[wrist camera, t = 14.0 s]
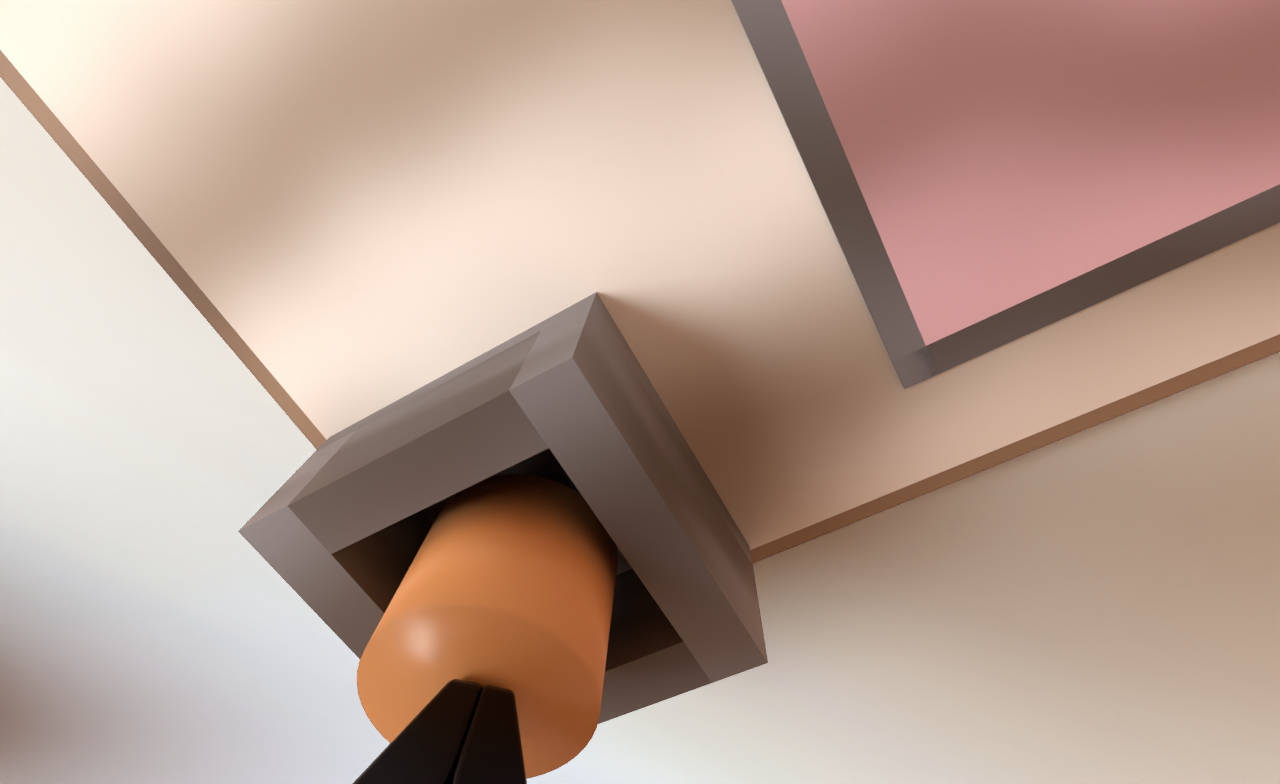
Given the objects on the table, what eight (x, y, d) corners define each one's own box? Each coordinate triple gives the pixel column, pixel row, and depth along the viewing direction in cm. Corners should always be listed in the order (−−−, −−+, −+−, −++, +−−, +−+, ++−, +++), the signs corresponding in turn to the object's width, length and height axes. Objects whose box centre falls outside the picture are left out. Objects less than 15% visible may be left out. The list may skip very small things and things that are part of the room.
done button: (652, 586, 12) (644, 738, 9) (500, 647, 13) (451, 805, 10) (552, 443, 11) (510, 568, 8) (394, 521, 11) (306, 659, 9)
